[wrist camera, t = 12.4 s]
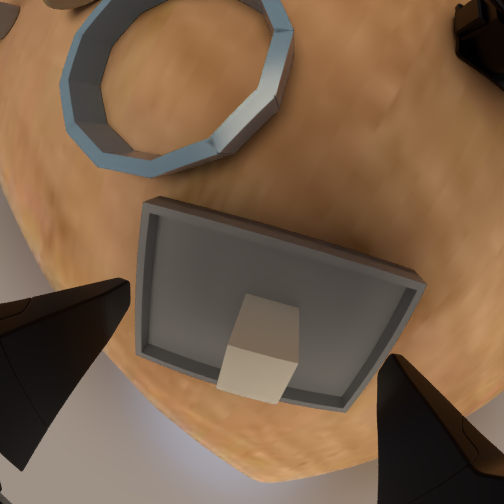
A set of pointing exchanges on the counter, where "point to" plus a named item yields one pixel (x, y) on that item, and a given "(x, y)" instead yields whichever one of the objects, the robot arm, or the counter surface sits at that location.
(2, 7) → the lotion bottle
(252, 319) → the beige rectangular block
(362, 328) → the tray
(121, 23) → the blue ring
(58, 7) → the ceramic mug
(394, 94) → the counter surface
